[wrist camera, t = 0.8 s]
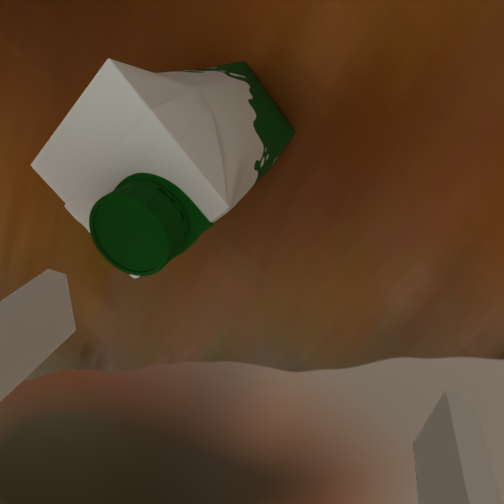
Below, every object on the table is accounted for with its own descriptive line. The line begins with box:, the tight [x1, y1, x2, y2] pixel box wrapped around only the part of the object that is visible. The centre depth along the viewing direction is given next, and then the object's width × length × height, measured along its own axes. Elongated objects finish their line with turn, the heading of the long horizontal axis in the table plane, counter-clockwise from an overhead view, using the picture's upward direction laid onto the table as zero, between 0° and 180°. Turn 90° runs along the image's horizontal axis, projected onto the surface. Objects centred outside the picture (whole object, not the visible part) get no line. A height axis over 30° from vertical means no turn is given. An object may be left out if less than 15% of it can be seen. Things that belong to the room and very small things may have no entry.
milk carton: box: [31, 58, 295, 278], centre depth 24 cm, size 9×9×20 cm
